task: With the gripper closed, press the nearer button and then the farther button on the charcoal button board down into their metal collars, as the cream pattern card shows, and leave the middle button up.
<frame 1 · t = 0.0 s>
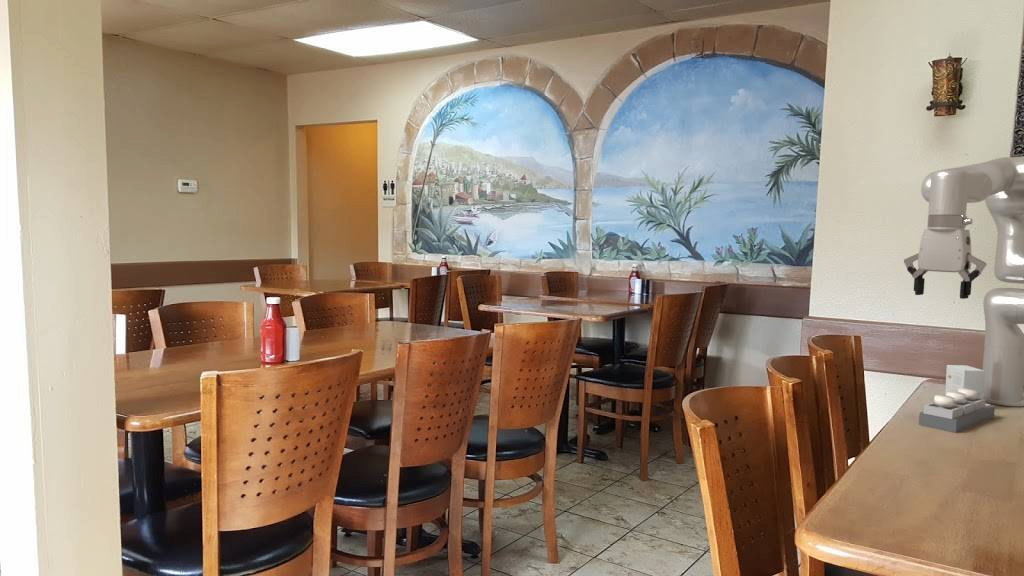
hand: (941, 296, 166), 31 cm above the table, tool pointing down, fingers open, 9 cm apart
button board: (957, 421, 174), on the table
small box: (963, 406, 190), on the table
button 1: (944, 401, 168), point 6 cm above the table, slide at 0.0 cm
button 2: (967, 393, 177), point 6 cm above the table, slide at 0.0 cm
button middle: (955, 397, 173), point 6 cm above the table, slide at 0.0 cm
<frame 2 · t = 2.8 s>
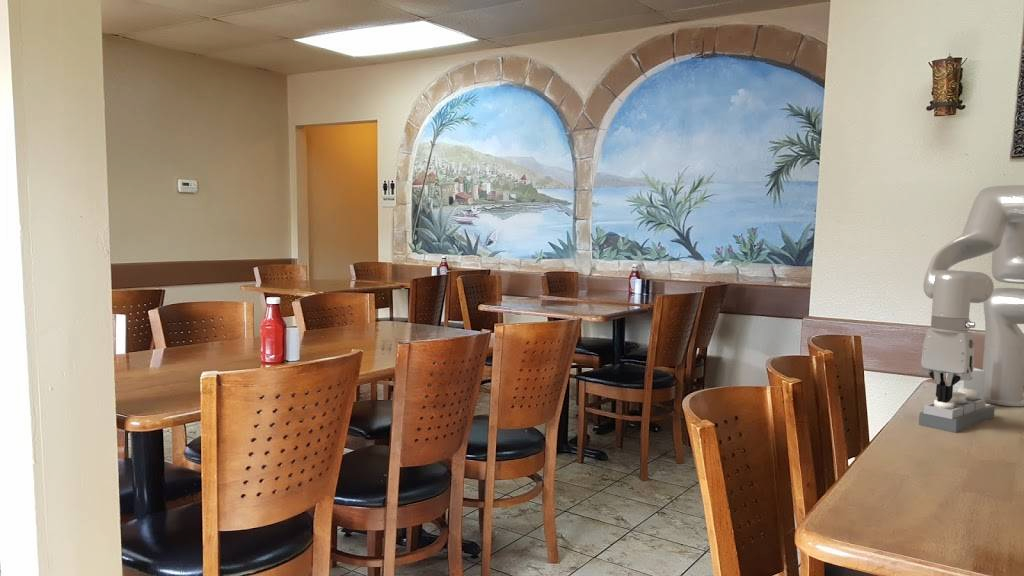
hand: (943, 401, 168), 6 cm above the table, tool pointing down, fingers closed
button 1: (943, 405, 168), point 5 cm above the table, slide at 1.0 cm, touching gripper
everything else where it was.
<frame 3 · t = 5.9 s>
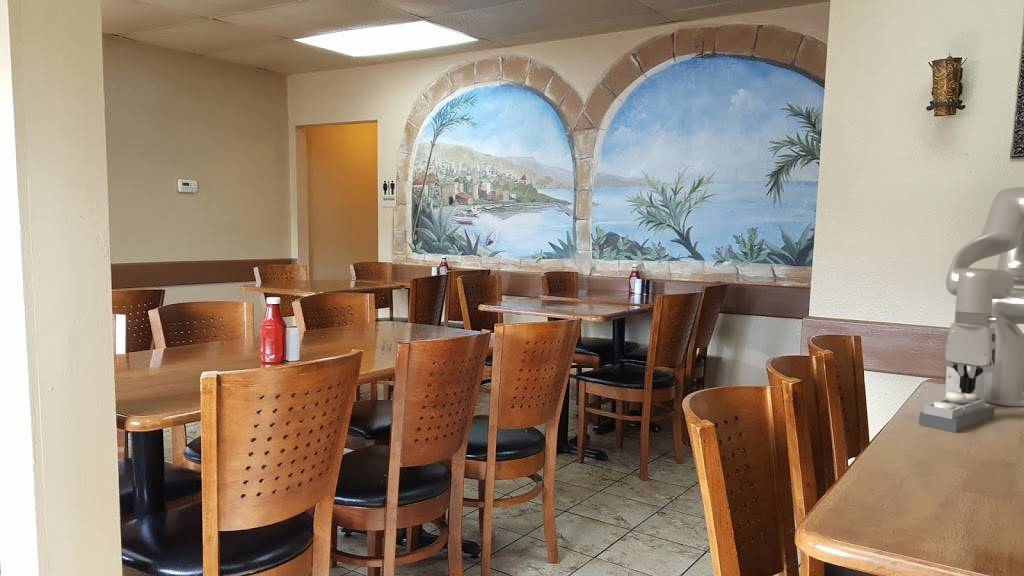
hand: (966, 392, 177), 7 cm above the table, tool pointing down, fingers closed
button 1: (943, 407, 168), point 5 cm above the table, slide at 1.6 cm
button 2: (966, 396, 177), point 6 cm above the table, slide at 0.7 cm, touching gripper
everything else where it was.
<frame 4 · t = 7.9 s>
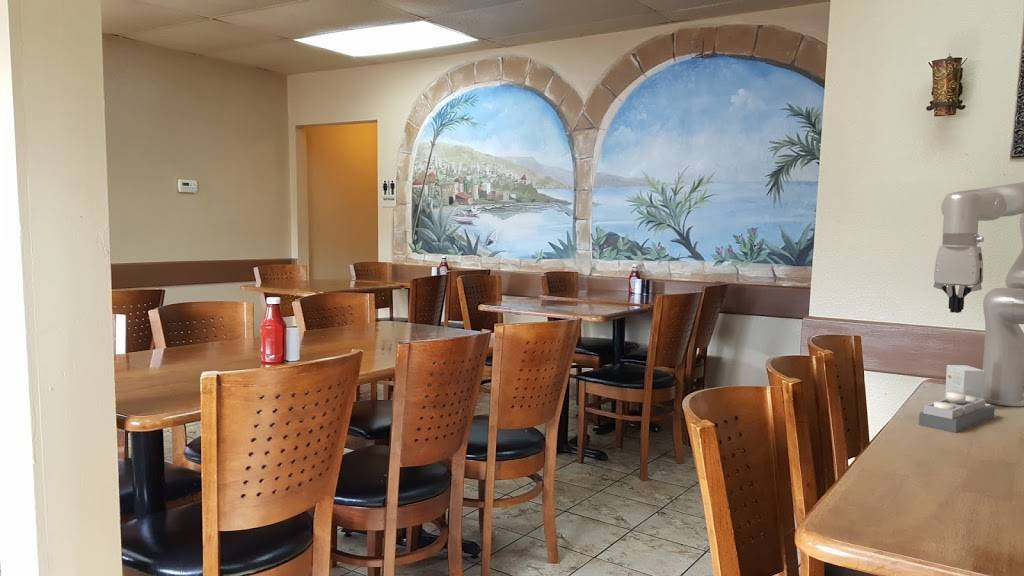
hand: (955, 312, 182), 26 cm above the table, tool pointing down, fingers closed
button 2: (966, 400, 177), point 5 cm above the table, slide at 1.6 cm
everything else where it was.
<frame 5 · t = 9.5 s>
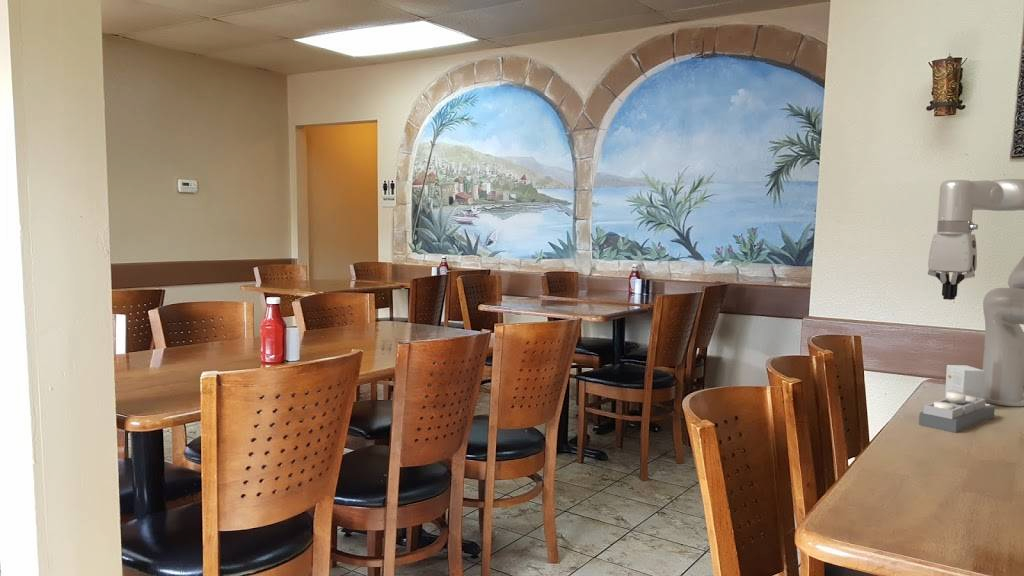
hand: (949, 299, 184), 29 cm above the table, tool pointing down, fingers closed
nothing on the table moved.
at the end: button 1 slide at 1.6 cm; button 2 slide at 1.6 cm; button middle slide at 0.0 cm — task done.
